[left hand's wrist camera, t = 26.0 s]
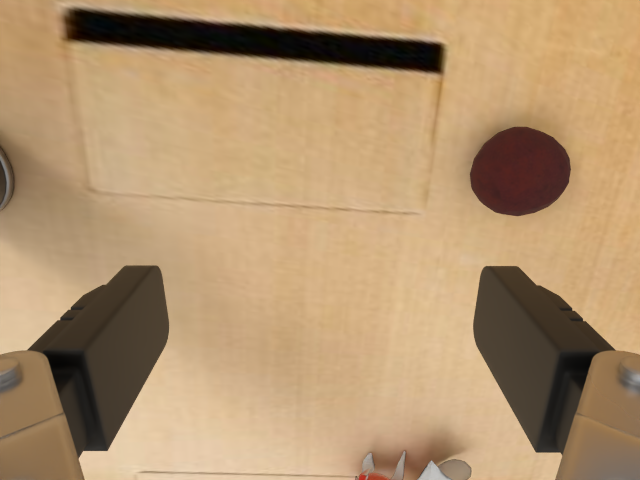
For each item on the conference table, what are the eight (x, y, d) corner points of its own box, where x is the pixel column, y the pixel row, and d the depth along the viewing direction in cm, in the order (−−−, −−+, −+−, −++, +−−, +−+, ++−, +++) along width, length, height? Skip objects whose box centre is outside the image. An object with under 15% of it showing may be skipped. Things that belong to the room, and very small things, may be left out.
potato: (552, 181, 41) (596, 203, 35) (473, 214, 43) (501, 241, 36) (532, 107, 39) (575, 116, 32) (449, 144, 40) (474, 160, 34)
